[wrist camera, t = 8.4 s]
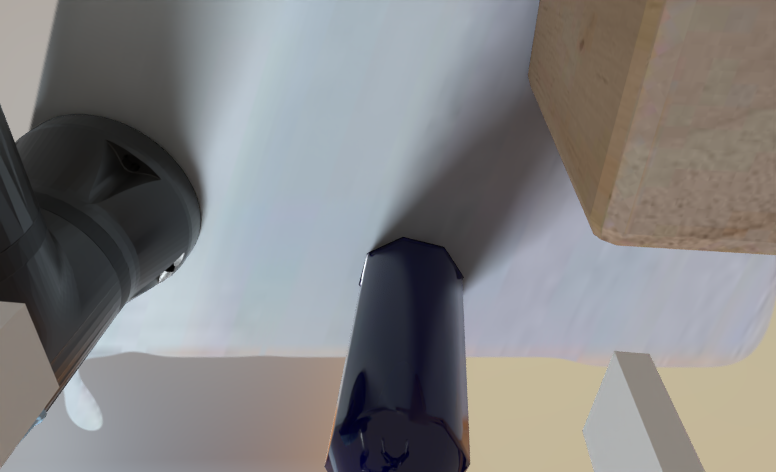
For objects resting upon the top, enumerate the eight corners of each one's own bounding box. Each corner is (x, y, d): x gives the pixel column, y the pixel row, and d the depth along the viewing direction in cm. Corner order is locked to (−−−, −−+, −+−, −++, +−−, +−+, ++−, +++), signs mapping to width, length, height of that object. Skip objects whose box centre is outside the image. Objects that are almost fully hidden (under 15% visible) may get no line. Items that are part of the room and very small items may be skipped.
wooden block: (550, -85, 31) (672, -45, 15) (728, -80, 31) (1063, -33, 14) (523, 85, 37) (590, 254, 20) (674, 92, 36) (869, 271, 20)
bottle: (348, 241, 45) (232, 687, 20) (459, 232, 44) (481, 698, 19) (368, 323, 50) (294, 763, 25) (467, 317, 49) (494, 777, 24)
